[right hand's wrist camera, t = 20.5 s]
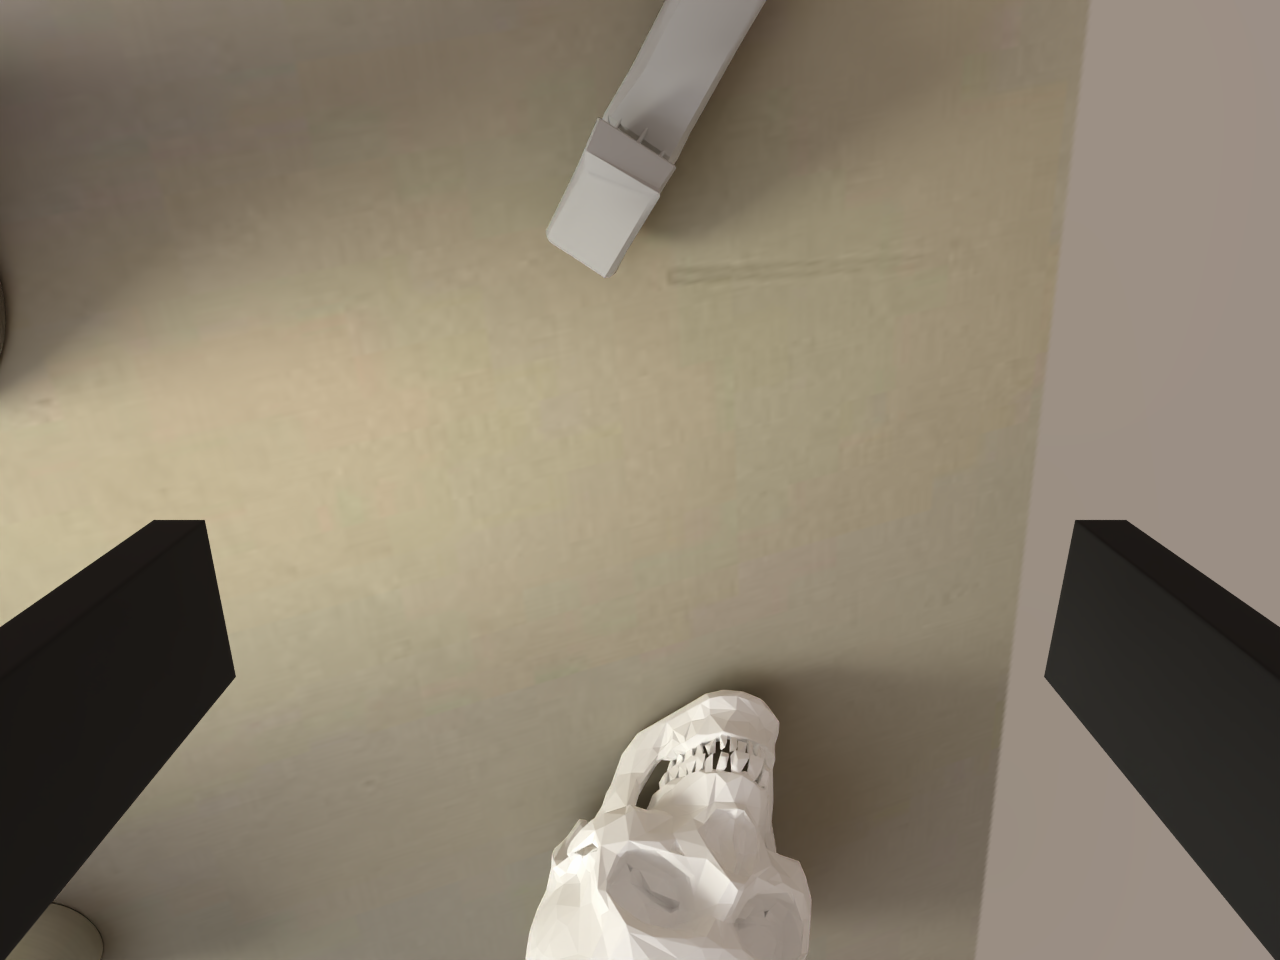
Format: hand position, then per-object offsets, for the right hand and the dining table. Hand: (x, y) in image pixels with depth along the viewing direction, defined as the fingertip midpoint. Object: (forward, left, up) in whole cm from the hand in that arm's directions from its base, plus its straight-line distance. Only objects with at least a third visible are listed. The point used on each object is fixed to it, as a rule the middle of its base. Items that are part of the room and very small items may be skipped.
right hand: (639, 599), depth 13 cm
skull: (-26, -16, -29) cm, 42 cm away
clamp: (+11, +4, -29) cm, 31 cm away
